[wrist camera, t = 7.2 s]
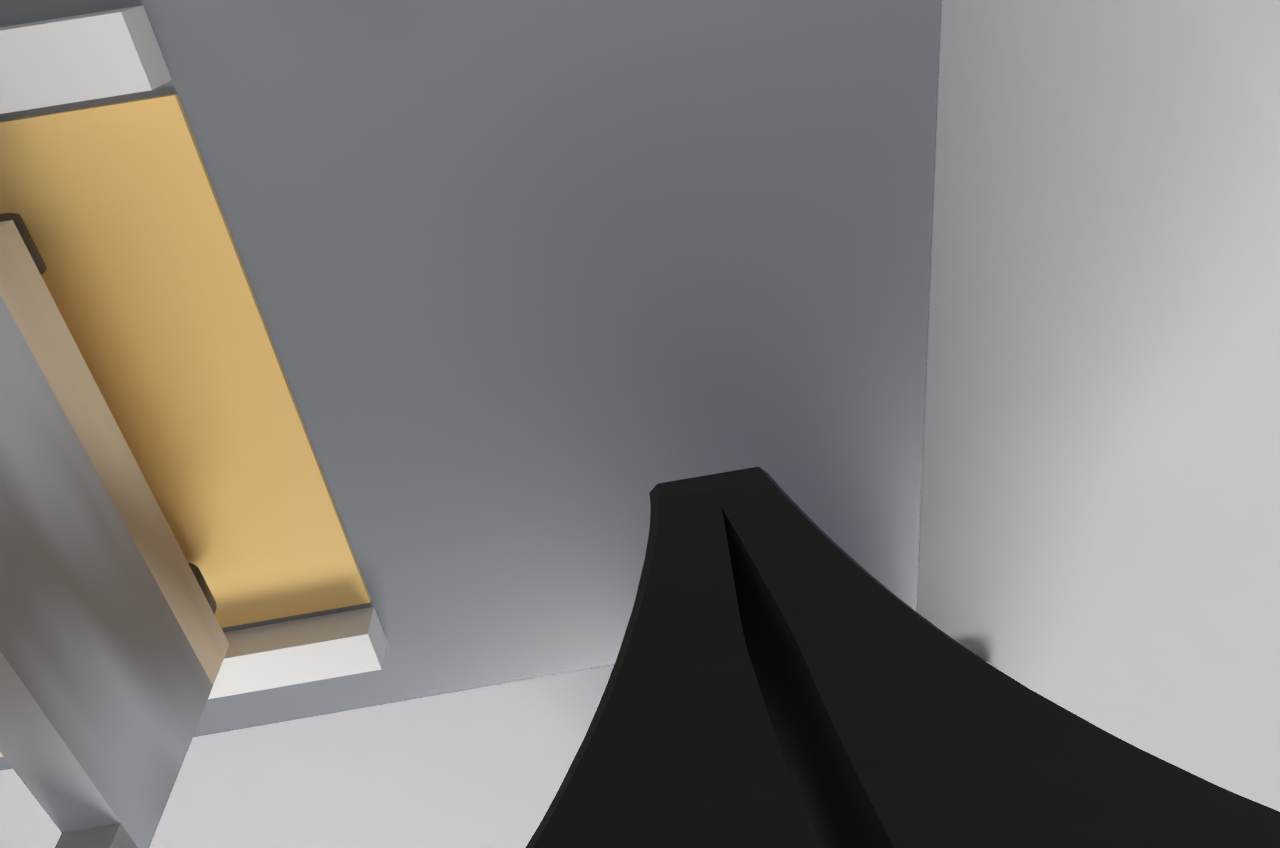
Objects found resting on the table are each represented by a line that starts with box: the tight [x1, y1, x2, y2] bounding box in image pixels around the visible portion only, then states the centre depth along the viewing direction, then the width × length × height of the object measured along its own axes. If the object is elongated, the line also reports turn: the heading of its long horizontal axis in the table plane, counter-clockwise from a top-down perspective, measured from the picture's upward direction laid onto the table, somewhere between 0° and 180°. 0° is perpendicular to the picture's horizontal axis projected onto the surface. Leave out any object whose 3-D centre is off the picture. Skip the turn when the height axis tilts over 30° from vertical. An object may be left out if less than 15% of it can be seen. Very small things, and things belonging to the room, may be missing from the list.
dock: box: [0, 0, 942, 770], centre depth 16 cm, size 16×22×3 cm
